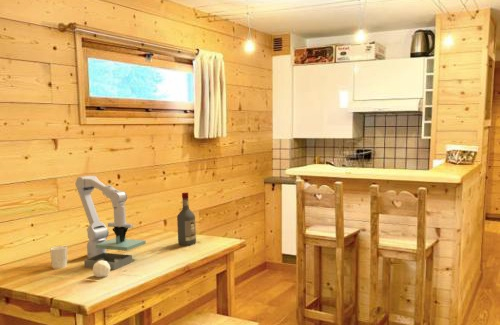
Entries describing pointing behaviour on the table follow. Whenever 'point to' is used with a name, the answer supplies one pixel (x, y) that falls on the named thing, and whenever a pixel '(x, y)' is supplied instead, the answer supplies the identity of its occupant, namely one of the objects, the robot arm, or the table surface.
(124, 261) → the tub
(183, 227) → the liquor
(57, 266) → the white cup
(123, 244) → the lid
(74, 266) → the table surface
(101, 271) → the ball
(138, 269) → the table surface
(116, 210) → the robot arm
